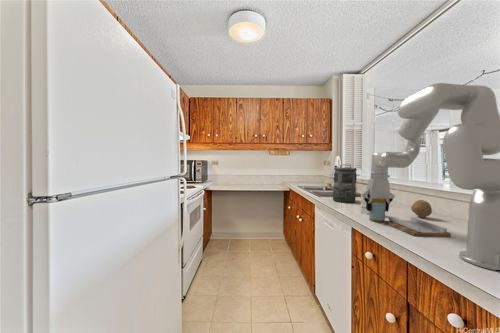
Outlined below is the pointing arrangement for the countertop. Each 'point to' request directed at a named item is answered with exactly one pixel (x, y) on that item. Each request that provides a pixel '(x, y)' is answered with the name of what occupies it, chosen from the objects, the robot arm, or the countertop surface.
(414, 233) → the walnut board
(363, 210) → the ink cartridge box
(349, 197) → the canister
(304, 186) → the countertop surface
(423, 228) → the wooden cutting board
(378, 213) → the bottle
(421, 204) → the natural sponge
